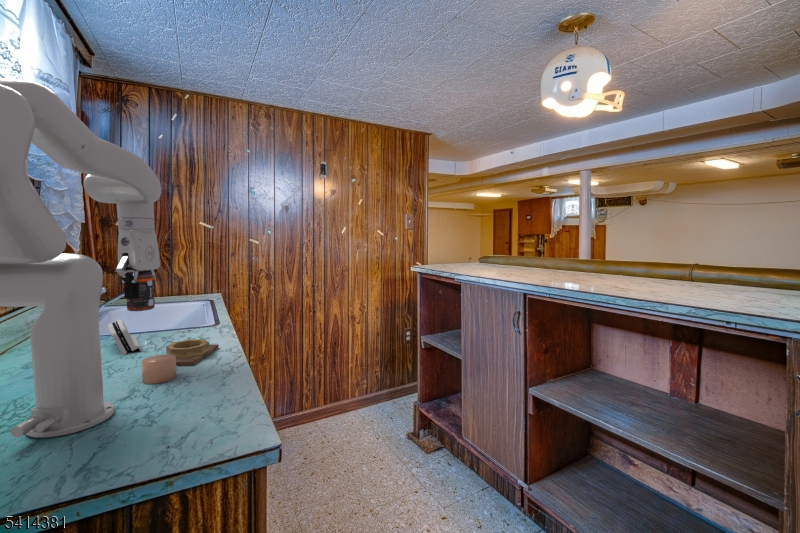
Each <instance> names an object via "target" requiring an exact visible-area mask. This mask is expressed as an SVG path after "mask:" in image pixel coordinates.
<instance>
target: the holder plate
mask: <svg viewBox="0 0 800 533" xmlns="http://www.w3.org/2000/svg"><path fill="white" fill-rule="evenodd" d="M218 347H220V346H219V344H210V341H207V340H206V339H203V338H202V339H201V338H200V339H195V338H194V339H190V338H189V339H185V340H179V341H174V342H172V343H171V344H168V345H166V346H165V350H166V351H165V355H166V354H169V355H175V356H176V367H190V366H192V367H193V366H196V364H198V363H200V362H201V361H202V360H204V359H205V358H207V357H208V356H209V354H210V353H211V354H213V353H214V352H215V351H217V350H218V349H219V348H218ZM217 348H218V349H217ZM216 349H217V350H216ZM214 350H215V351H214ZM213 351H214V352H213ZM211 354H210V355H211Z"/></svg>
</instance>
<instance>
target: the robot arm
mask: <svg viewBox="0 0 800 533" xmlns="http://www.w3.org/2000/svg"><path fill="white" fill-rule="evenodd" d="M31 144H33V145H34V146H35V147H36V148H38V149H39V150H40V151H42V152H43V153H44V154H45V155H46V156H47V157H48V158H50V159H51V160H52V161H53V162H55V163H56V164H58V165H59V166H61V167H62V168H64V169H68V170H70V171H73V172H74V171H75V172H78V173H81V174H85V175H86V176H85V177H84V179H83V188H84V191H85V192H86V194H87V196H89V197H90V198H91V199H93V200H94V201H97V202H99V203H102V204H116V210H117V226H118V227H117V229H118V236H117V262H118V263H117V267H115V271H116V273H117V274H118V275H119V278H121V282H122V283H123V293H124V299H138V298H139V283H136V282H137V277H138V272H139V271H146V270H148V272H149V273H150V274H152V275H153V281H154V295H156V281H155V280H156V278H157V275H156V274H157V270H158V268H160V266H161V259H160V258H161V257H160V251H159V244H158V243H159V242H158V237H157V233H156V231H155V227H156V226H155V213H154V212H155V211H154V210H155V208H154V203H155V202H157V201H158V200H159V199H160V197H161V195H162V194H161V193H162V185H161V182H160V180H159V177H158V176H157V174H156V173H155V171H153V169H152V168H151V167H150V166H149V164H148V163H147V162H146V161H145V160H144V159H142V157H140V156H138V155H137V154H135V153H133V152H131V151H129V150H127V149H125V148H123V147H120V146H118V145H117V144H115V143H112V142H110V141H108V140H105V139H103V138H101V137H98V136H97V135H95V134H94V132H93V131H92V130H91V129H90V128H89V127H88V126H87V125H86V124H85V123H84V122H83V121H82V120H81V118H79V117H78V116H77V115H76V113H75V112H74V111H73V110H72V109H71V108H70V107H69V106H68V105H67V104H66V103H65V101H63V100H62V99H61V98H60V97H59V95H58V94H57V93H56V92H54V91H53V90H51V89H50V88H48V87H47V86H45V85H43V84H41V83H38V82H34V81H32V80H31V81H30V80H24V79H15V78H0V307H6V308H11V307H13V308H18V307H21V308H22V307H23V308H25V307H44V309H43V311H42V312H41V314H40V315H39V316H38V318H37V319H36V320H35V321H34V323H33V325H32V327H31V330H30V340H29V342H30V349H31V351H30V352H31V363H32V375H33V376H32V378H33V391H34V402H35V403H34V404H35V407H34V408H32V409H31V410H30V416H29V417H28V418H27V420H25V421H23V422H21V423H19V424H17V425H14V426H13V427H12V428H11V429H10V434H11V436H12V437H13V438H21V437H22V436H24V435H27V436H28V437H31V438H36V439H37V438H39V439H45V438H55V437H56V438H57V437H60V436H66V435H70V434H75V433H78V432H81V431H84V430H88V429H91V428H93V427H94V426H98V425H99V424H101V423H103V422H105V421H106V420H108V419H110V418H111V417H112V415H113V414H115V404H114V403H112V402H110V401H107V400H105V399H104V398H105V396H104V385H103V384H104V382H103V366H102V352H101V351H102V349H101V334H100V333H101V332H100V303H101V302H100V301H101V296H102V289H103V283H104V282H103V281H104V273H103V272H104V271H103V269H102V266H101V265H100V264H99V262H97V261H96V260H95V259H93V258H92V257H90V256H87V255H84V254H77V253H70V252H68V253H67V252H65V250H66V248H67V238H66V235H65V232H64V230H63V228H62V227H61V225H60V223H59V222H58V221H57V219H56V218H55V216H54V215H53V214H52V212H51V211H50V209H49V208H48V206H47V204H46V203H45V202H44V200H43V199H42V197H41V196H40V194H39V193H38V191H37V190H36V188H35V186H34V185H33V183H32V181H31V180H30V177H29V173H28V159H29V152H30V147H31ZM63 252H64V253H63ZM129 268H133V269H134V270H129ZM130 273H133V275H132V276H131V274H130Z"/></svg>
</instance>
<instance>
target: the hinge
mask: <svg viewBox="0 0 800 533" xmlns="http://www.w3.org/2000/svg"><path fill="white" fill-rule="evenodd" d="M107 327H108V330H109V332H110V334H111V337H112V338H113V340H114V342H115V344H116V346H117V348H118V350H119V351H120V354H121V355H123V354H124V355H127V354H128V352H129V351H131V352H134V351H135V350H137V349H139V351H140V352H141V353H142V352H143V349H142V346H141V344H140V342H139V340H138V338H137V337H136V335H135V334H130V331H129V330H128V327H126V325H125V322H124V321H123V319H121V318H120V319H117V320H116V321H115V322H110V323H108V324H107Z"/></svg>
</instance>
